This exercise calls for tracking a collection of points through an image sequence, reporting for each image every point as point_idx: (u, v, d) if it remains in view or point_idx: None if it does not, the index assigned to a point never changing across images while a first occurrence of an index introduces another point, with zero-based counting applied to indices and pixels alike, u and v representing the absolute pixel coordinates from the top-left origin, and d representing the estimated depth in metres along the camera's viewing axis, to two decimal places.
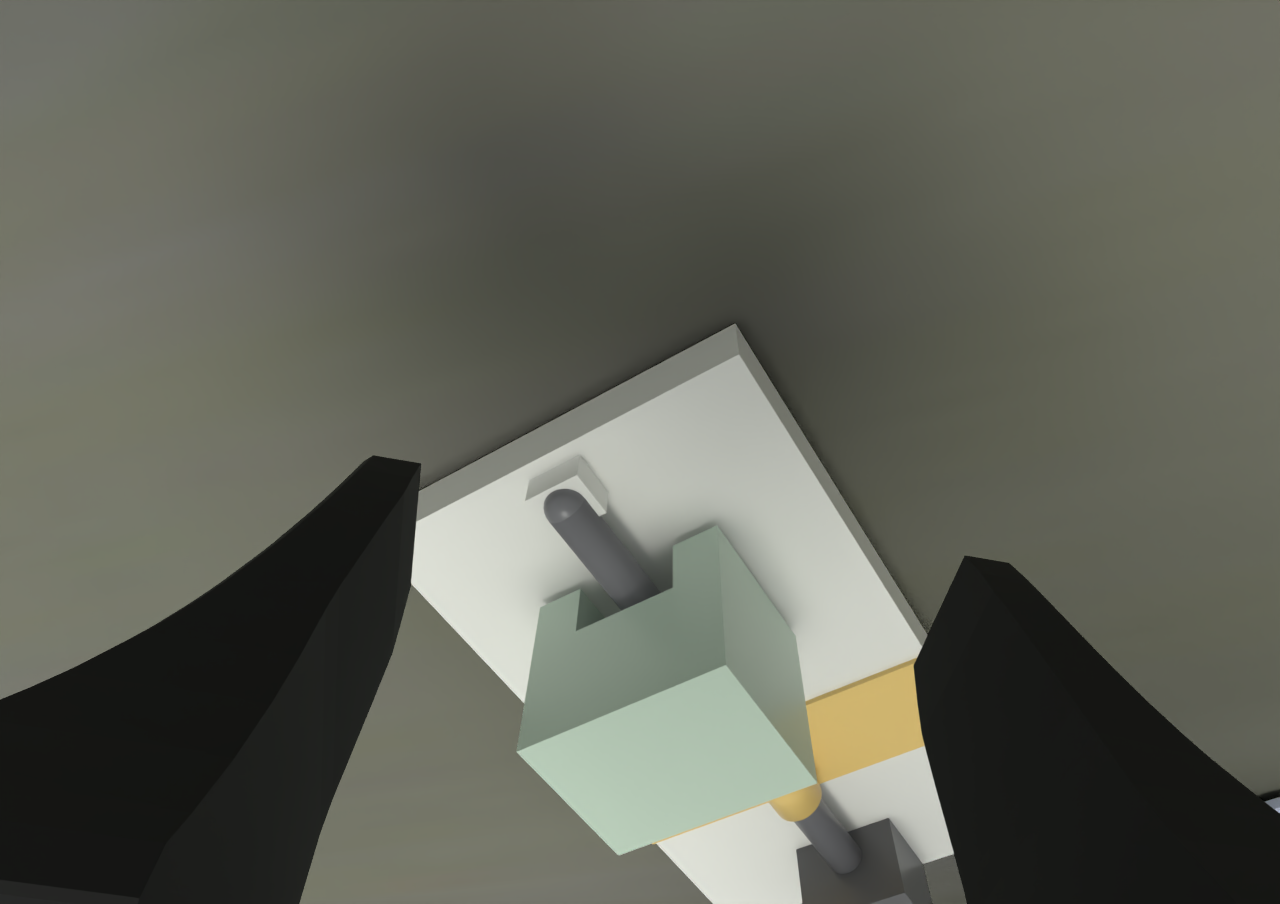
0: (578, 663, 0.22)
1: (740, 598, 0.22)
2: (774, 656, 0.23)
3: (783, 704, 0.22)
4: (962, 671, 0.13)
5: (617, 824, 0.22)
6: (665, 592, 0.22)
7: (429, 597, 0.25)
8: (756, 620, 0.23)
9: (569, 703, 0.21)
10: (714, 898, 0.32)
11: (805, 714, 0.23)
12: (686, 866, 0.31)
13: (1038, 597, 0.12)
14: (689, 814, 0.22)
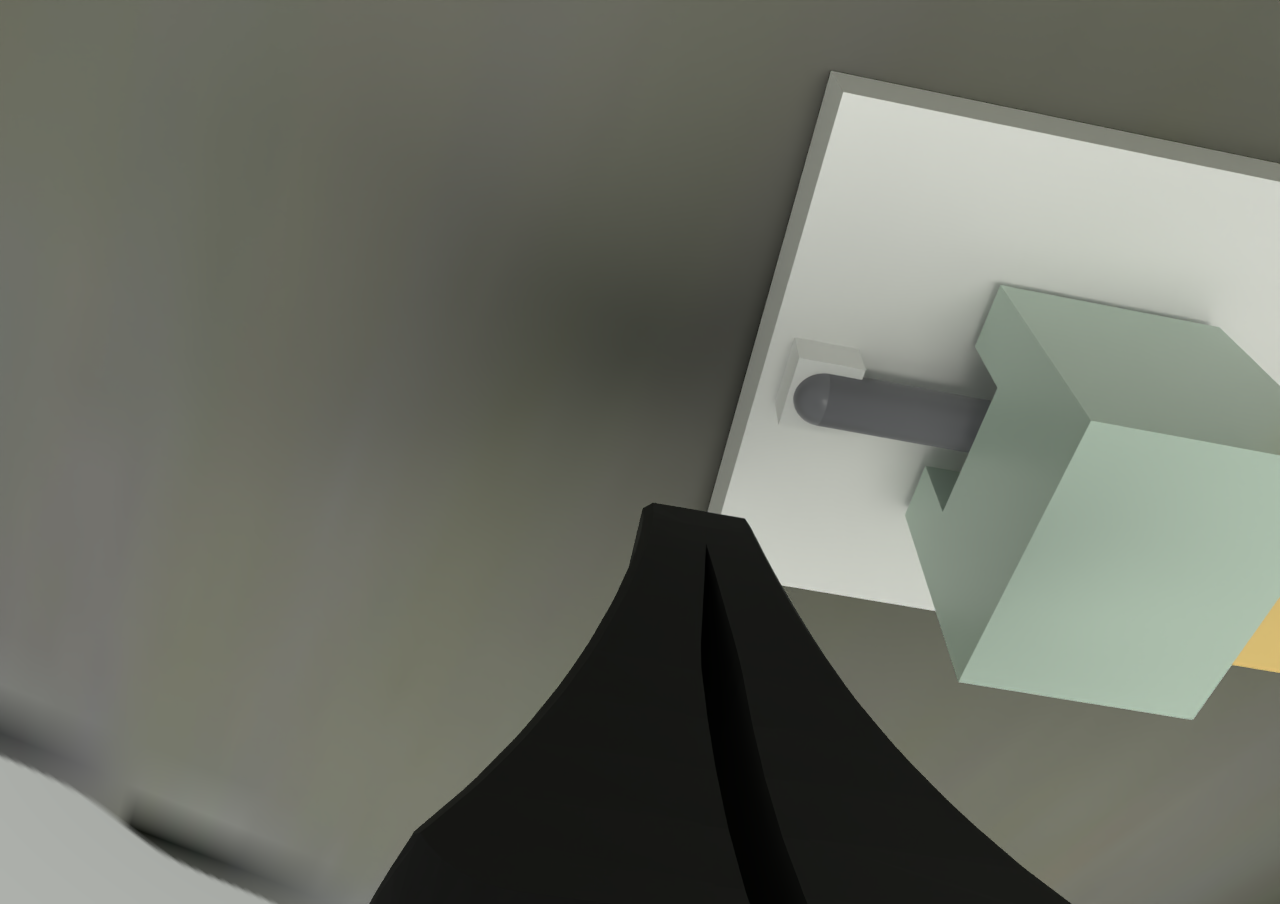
0: (960, 543, 0.17)
1: (1084, 337, 0.16)
2: (1187, 367, 0.16)
3: (1237, 412, 0.15)
4: None
5: (1154, 686, 0.16)
6: (993, 399, 0.17)
7: (798, 584, 0.21)
8: (1128, 346, 0.16)
9: (974, 592, 0.16)
10: None
11: None
12: None
13: (754, 550, 0.12)
14: (1230, 619, 0.15)
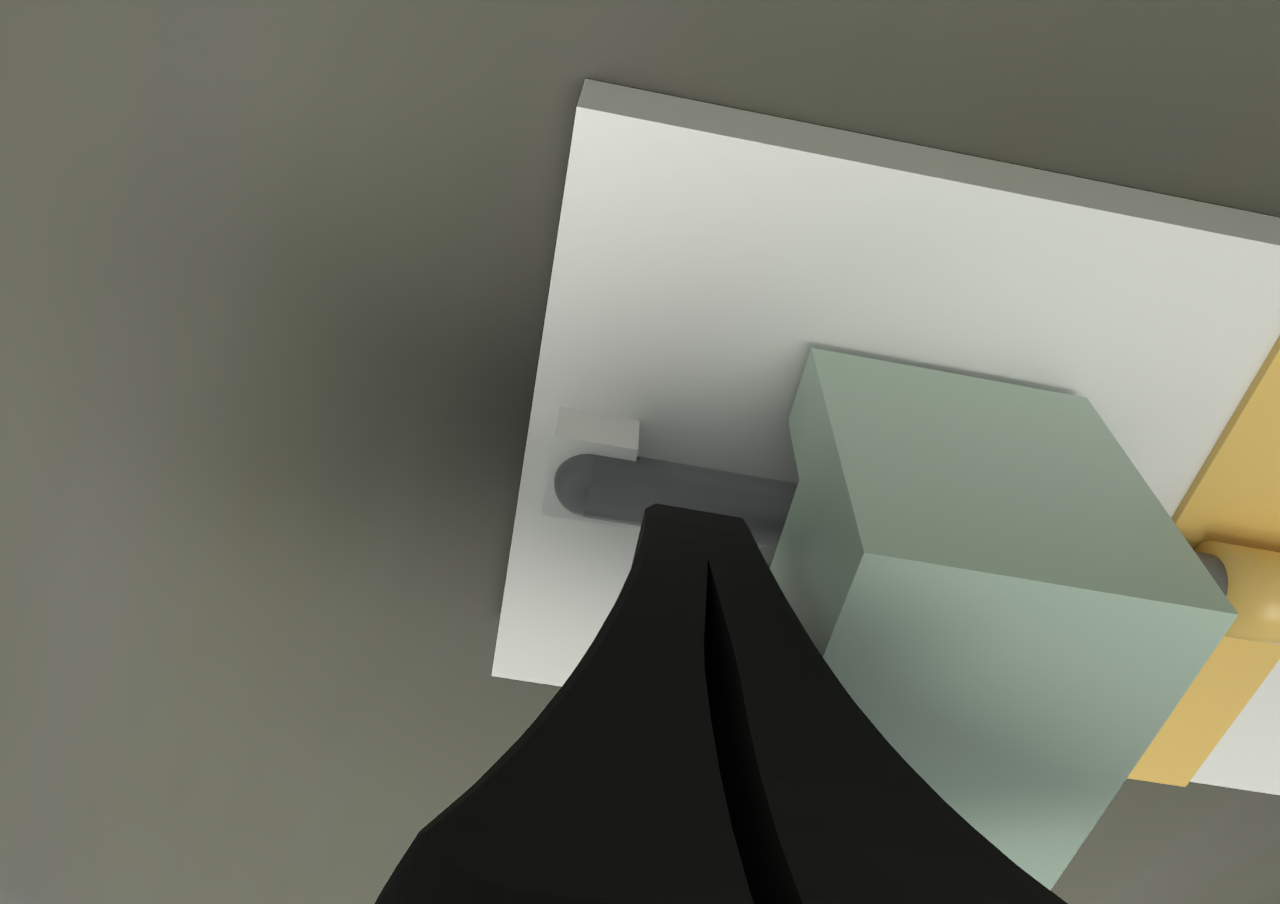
0: None
1: (899, 420, 0.13)
2: (1028, 459, 0.12)
3: (1078, 527, 0.11)
4: None
5: None
6: (795, 493, 0.13)
7: None
8: (956, 431, 0.13)
9: None
10: None
11: (1156, 508, 0.12)
12: (1268, 784, 0.19)
13: (751, 549, 0.12)
14: (1078, 788, 0.12)
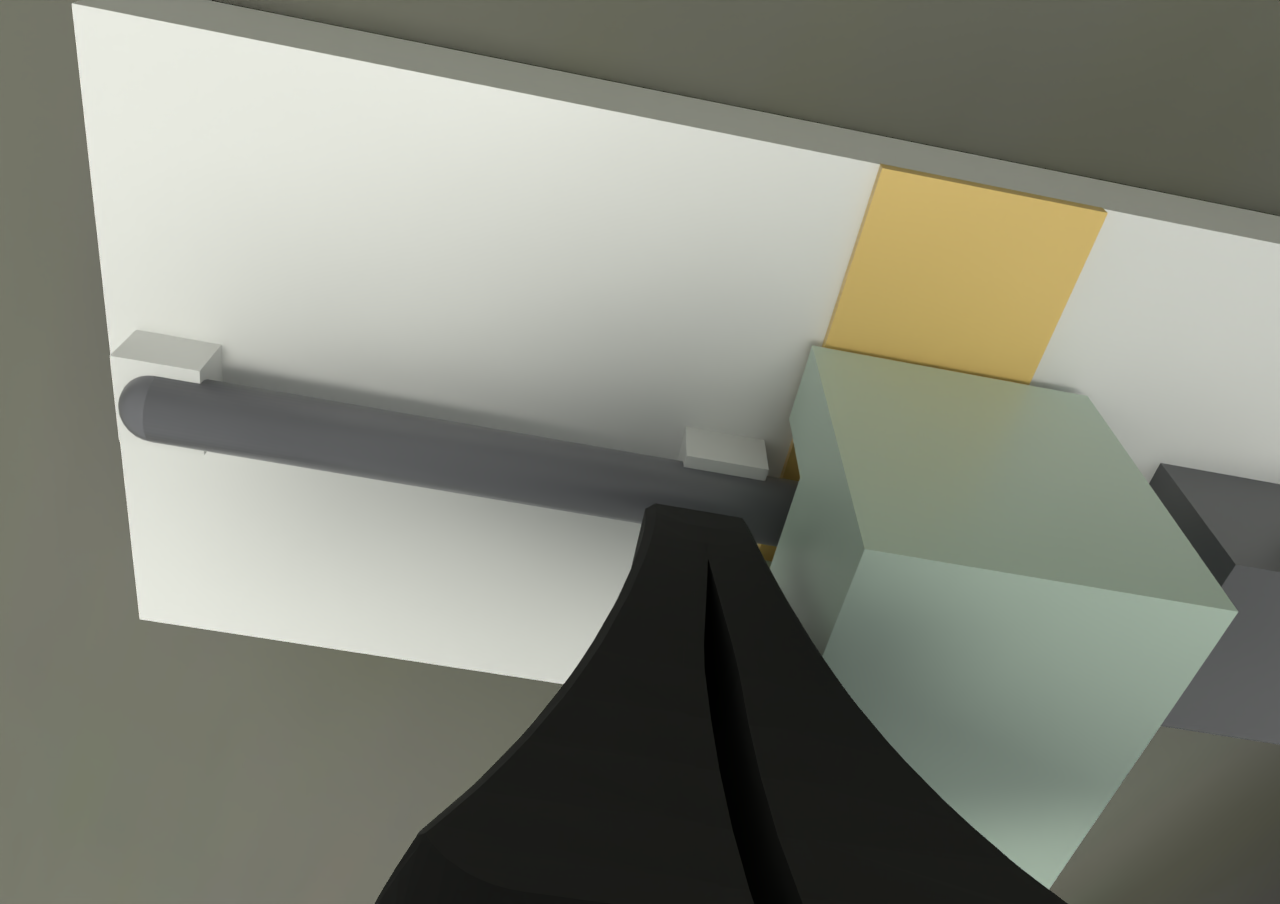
0: None
1: (900, 418, 0.13)
2: (1029, 457, 0.12)
3: (1078, 524, 0.11)
4: None
5: None
6: (796, 490, 0.13)
7: (258, 632, 0.17)
8: (956, 429, 0.13)
9: None
10: None
11: (1157, 506, 0.12)
12: None
13: (751, 549, 0.12)
14: (1078, 785, 0.12)
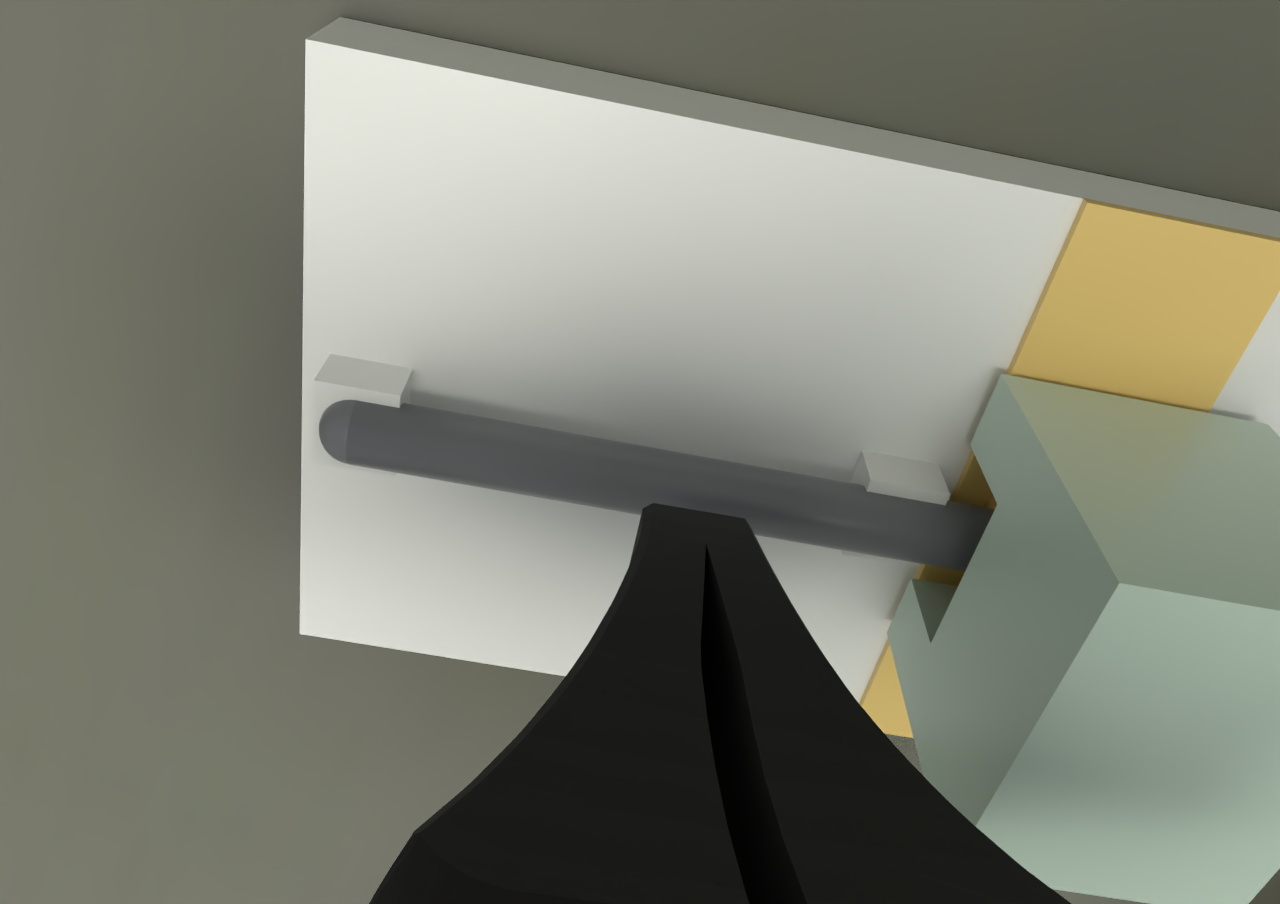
0: (952, 691, 0.14)
1: (1106, 448, 0.13)
2: (1235, 487, 0.13)
3: None
4: None
5: (1190, 880, 0.13)
6: (993, 517, 0.14)
7: (415, 647, 0.18)
8: (1161, 459, 0.13)
9: (968, 761, 0.13)
10: None
11: None
12: None
13: (753, 550, 0.12)
14: None
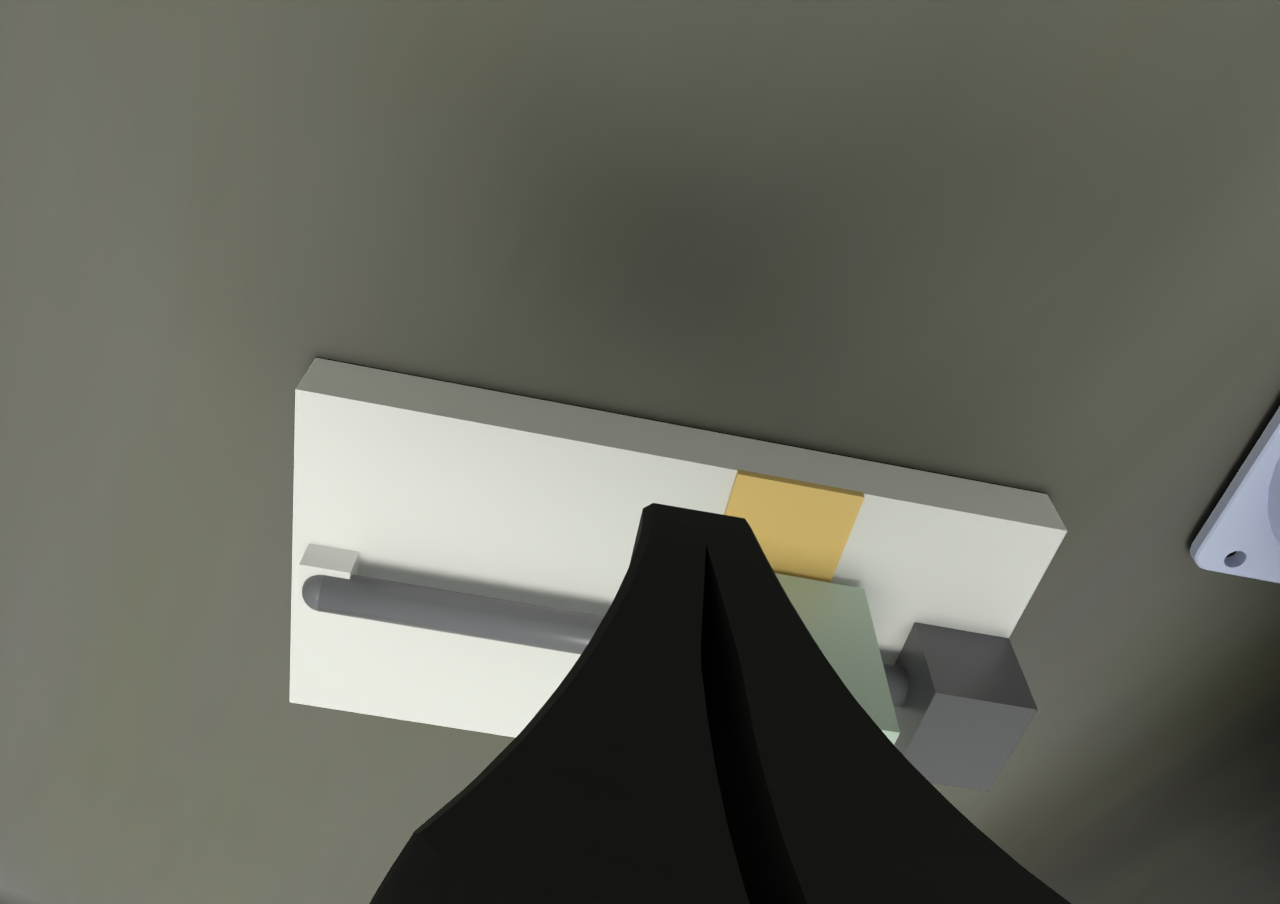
0: None
1: None
2: (814, 637, 0.23)
3: None
4: None
5: None
6: None
7: (364, 711, 0.28)
8: None
9: None
10: None
11: (879, 667, 0.22)
12: None
13: (753, 550, 0.12)
14: None
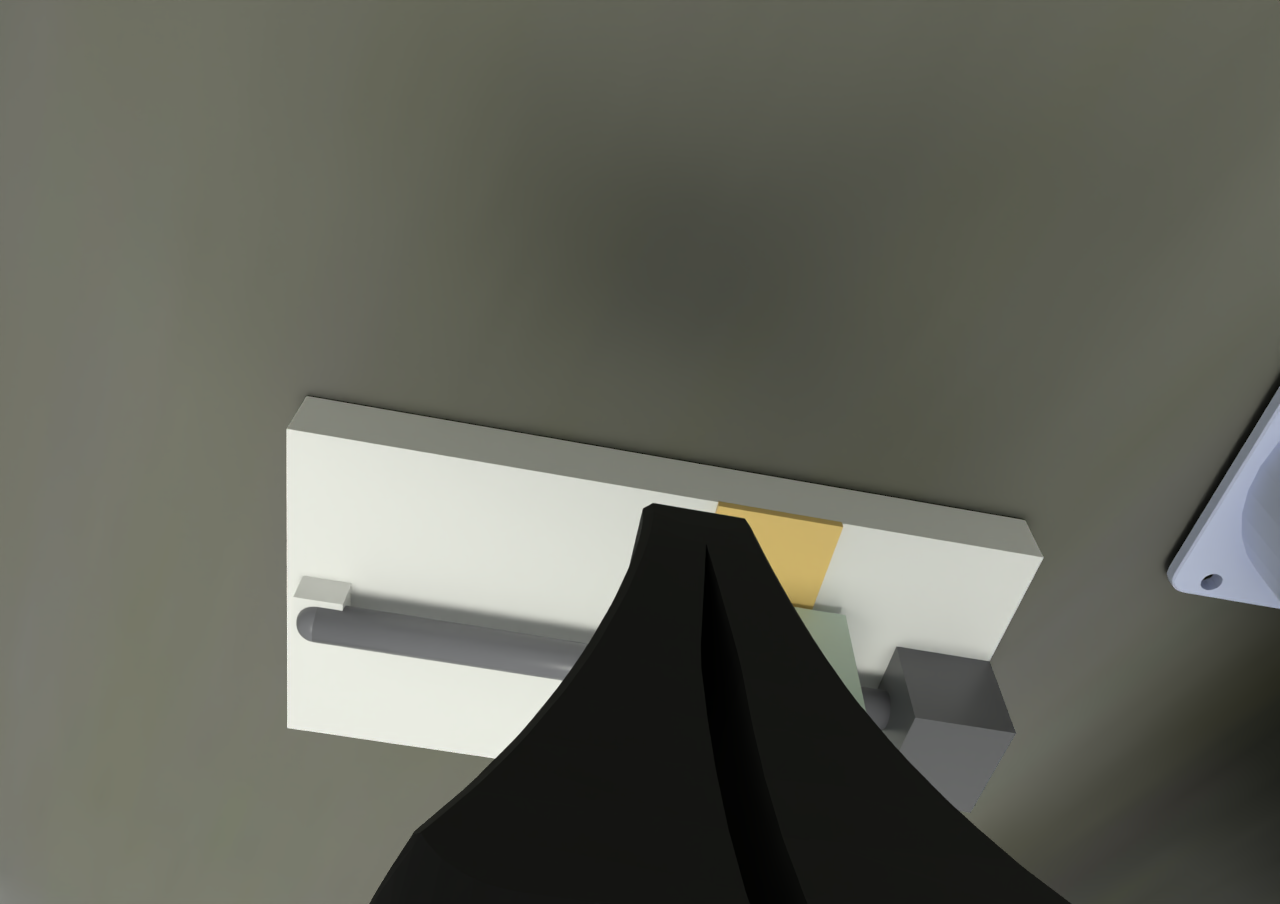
0: None
1: None
2: None
3: None
4: None
5: None
6: None
7: (360, 736, 0.28)
8: None
9: None
10: None
11: (858, 694, 0.23)
12: None
13: (753, 550, 0.12)
14: None
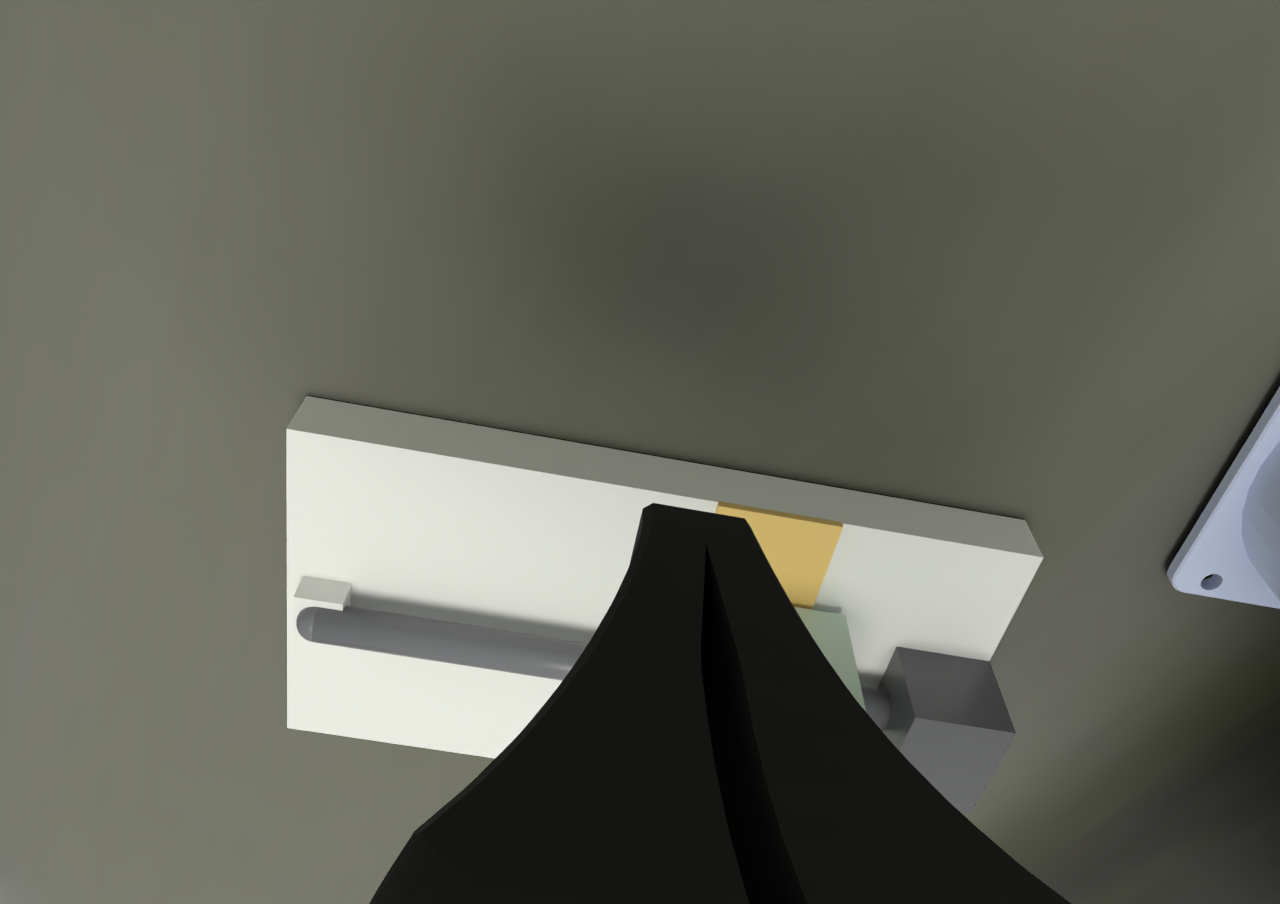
0: None
1: None
2: None
3: None
4: None
5: None
6: None
7: (360, 736, 0.28)
8: None
9: None
10: None
11: (858, 694, 0.23)
12: None
13: (753, 550, 0.12)
14: None
